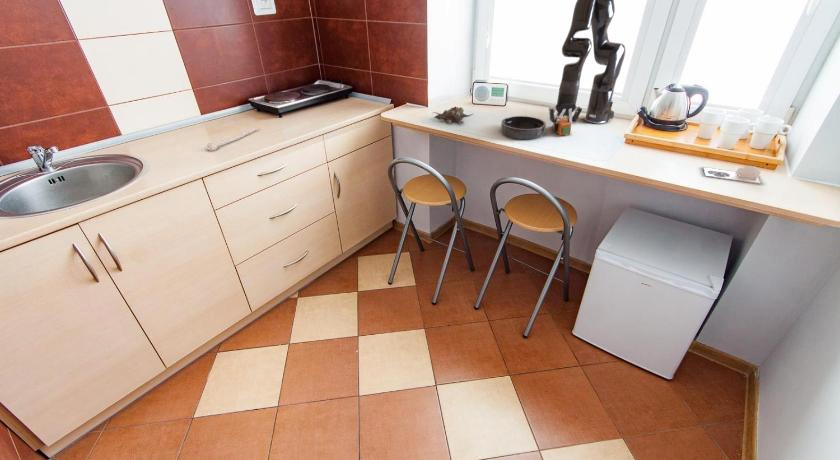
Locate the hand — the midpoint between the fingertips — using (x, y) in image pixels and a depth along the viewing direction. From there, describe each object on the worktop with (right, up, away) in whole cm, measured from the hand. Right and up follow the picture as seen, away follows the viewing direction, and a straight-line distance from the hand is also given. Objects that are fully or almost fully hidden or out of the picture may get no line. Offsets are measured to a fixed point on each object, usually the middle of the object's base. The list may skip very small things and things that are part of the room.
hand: (561, 131), depth 169 cm
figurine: (-46, +10, +18) cm, 50 cm away
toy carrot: (0, 0, 0) cm, 0 cm away
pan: (-17, -1, 0) cm, 17 cm away
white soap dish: (+42, -25, -39) cm, 63 cm away
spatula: (-144, -4, +2) cm, 144 cm away
